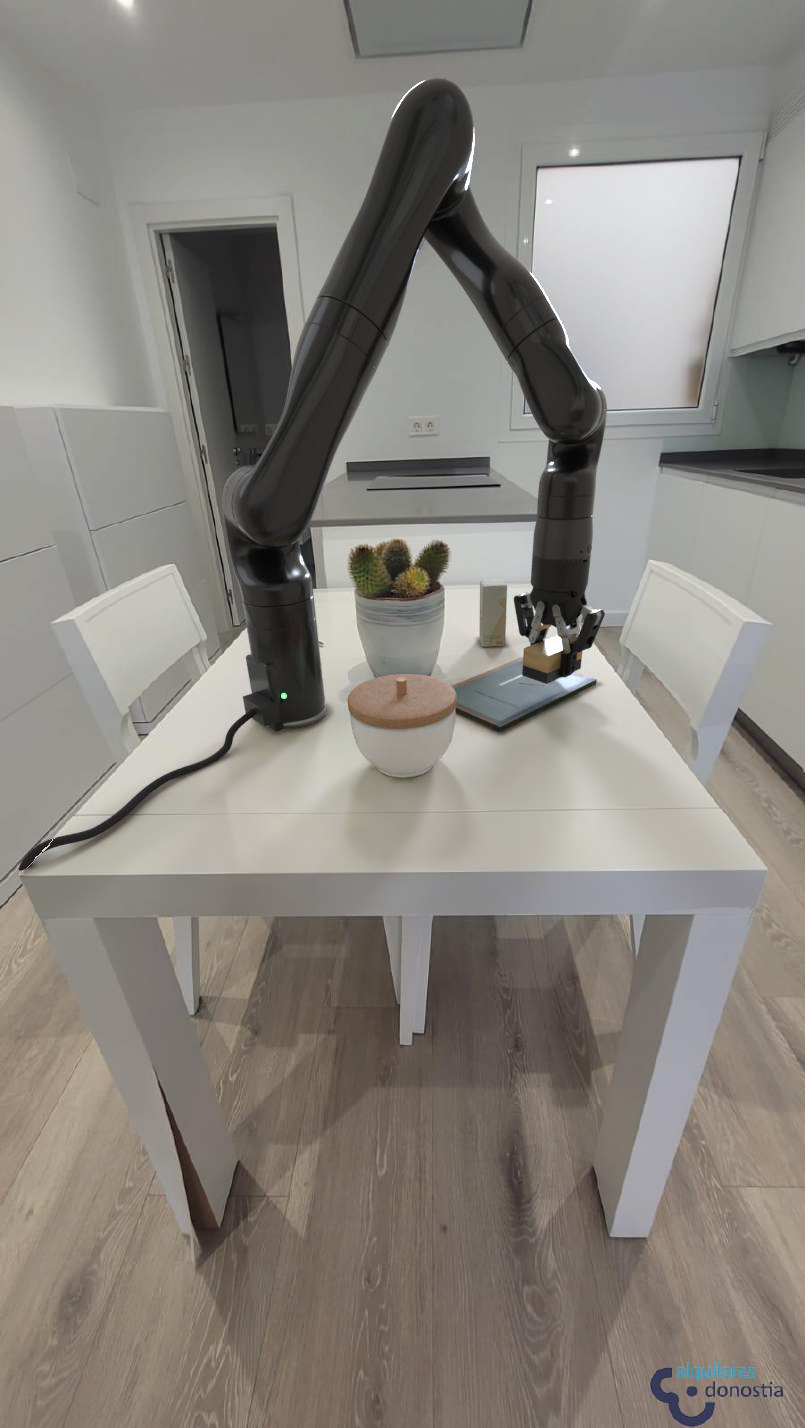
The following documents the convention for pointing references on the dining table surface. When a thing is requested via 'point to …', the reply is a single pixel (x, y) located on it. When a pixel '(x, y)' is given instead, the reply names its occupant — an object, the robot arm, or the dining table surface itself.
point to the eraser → (545, 660)
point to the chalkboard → (512, 695)
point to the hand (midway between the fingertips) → (551, 670)
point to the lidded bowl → (403, 722)
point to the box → (493, 612)
